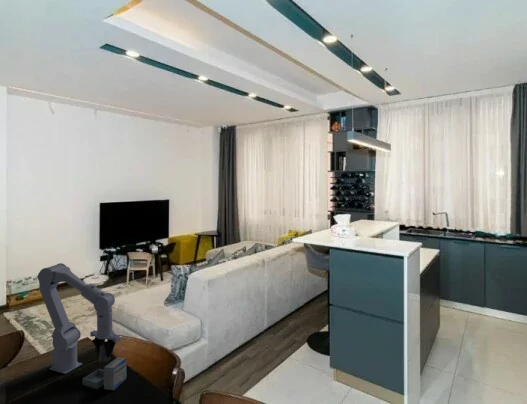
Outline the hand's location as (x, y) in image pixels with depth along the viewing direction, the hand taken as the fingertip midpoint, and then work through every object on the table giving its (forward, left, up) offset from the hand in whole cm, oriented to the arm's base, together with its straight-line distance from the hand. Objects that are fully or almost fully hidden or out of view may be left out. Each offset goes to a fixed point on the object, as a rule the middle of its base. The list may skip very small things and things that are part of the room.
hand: (105, 355), depth 136 cm
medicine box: (+12, -6, -6) cm, 15 cm away
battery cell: (0, 0, -2) cm, 2 cm away
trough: (+5, -7, -6) cm, 11 cm away
